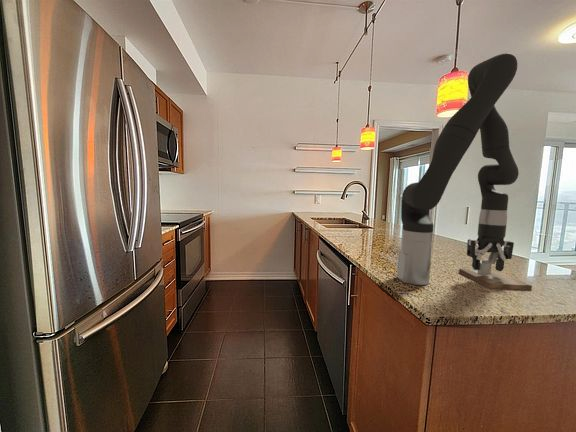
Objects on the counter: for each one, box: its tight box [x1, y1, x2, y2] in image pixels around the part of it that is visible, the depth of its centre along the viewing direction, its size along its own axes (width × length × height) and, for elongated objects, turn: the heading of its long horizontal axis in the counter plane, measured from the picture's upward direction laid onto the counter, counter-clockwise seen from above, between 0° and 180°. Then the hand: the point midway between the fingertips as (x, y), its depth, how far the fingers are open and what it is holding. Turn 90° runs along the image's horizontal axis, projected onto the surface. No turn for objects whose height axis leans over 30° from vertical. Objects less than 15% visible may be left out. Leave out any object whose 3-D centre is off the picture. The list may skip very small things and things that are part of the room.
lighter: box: [478, 252, 498, 276], centre depth 90 cm, size 7×2×8 cm, turn 108°
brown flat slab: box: [458, 268, 533, 291], centre depth 90 cm, size 13×16×2 cm
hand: (487, 269), depth 90 cm, fingers closed on lighter, 7 cm apart
